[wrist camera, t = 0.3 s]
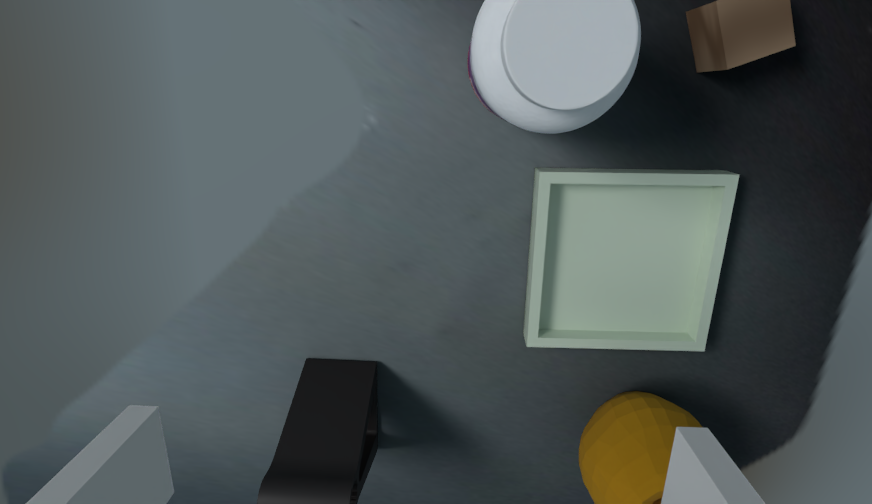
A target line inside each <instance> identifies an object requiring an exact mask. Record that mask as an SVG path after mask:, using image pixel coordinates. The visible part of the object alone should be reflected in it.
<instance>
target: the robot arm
mask: <svg viewBox="0 0 872 504" xmlns="http://www.w3.org/2000/svg"><path fill="white" fill-rule="evenodd" d="M173 493H174V488H173V483H172V477H171V472H170V466H169V461H168V455H167V450H166V445H165V439H164V434H163V428H162V423H161V417H160V412H159V406H137V405H129V406H128V407H127V408H126V409H125V410H124V411H123V412H122V413H121V414H120V415H118V416H117V417H116V418H115V419H114V420H113V421H112V422H111V423H110V424H109V425H108V426H107V427H106V428H105V429H104V430H103V431H102V432H101V433H100V434H99V435H97V436H96V437H95V438H94V439H93V440H92V441H91V442H90V443H89V444H88V445H87V446H86V447H85V448H84V449H83V450H82V451H81V452H80V453H79V454H78V455H76V456H75V457H74V458H73V459H72V460H71V461H70V462H69V463H68V464H67V465H66V466H65V467H64V468H63V469H62V470H61V471H60V472H59V473H58V474H57V475H56V476H54V477H53V478H52V479H51V480H50V481H49V482H48V483H47V484H46V485H45V486H44V487H43V488H42V489H41V490H40V491H39V492H38V493H37V494H36V495H35V496H33V497H32V498H31V499H30V500H29V501H28V502H27V503H26V504H166V503H167V502H168V500H169V499H170V498H171V496H172V495H173ZM661 504H765V502H764V501H763V500H762V499H761V497H760V496H759V495H758V493H757V492H756V491H755V489H754V488H753V487H752V485H751V484H750V483H749V481H748V480H747V479H746V477H745V476H744V475H743V473H742V472H741V471H740V469H739V468H738V467H737V466H736V464H735V463H734V462H733V460H732V459H731V458H730V456H729V455H728V454H727V452H726V451H725V450H724V448H723V447H722V446H721V444H720V443H719V442H718V441H717V439H716V438H715V437H714V435H713V434H712V433H711V431H710V430H709V429H708V428H699V427H676V432H675V437H674V442H673V447H672V452H671V457H670V462H669V467H668V472H667V476H666V481H665V486H664V491H663V496H662V501H661Z"/></svg>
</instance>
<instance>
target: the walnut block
mask: <svg viewBox="0 0 872 504" xmlns="http://www.w3.org/2000/svg"><path fill="white" fill-rule="evenodd" d="M686 16H687V21H688V27H689V32H690V37H691V43H692V48H693V54H694V59H695V64H696V70H697V73H698V72H708V71H719V70H728V69H731V68H734V67H737V66H739V65H742V64H745V63H748V62H751V61H754V60H757V59H759V58H762V57H765V56H768V55H771V54H774V53H777V52H779V51H782V50H785V49H788V48H791V47H794V46H796V44H795V36H794V28H793V20H792V13H791V5H790V0H717V1H715V2H712V3H709V4H707V5H704V6H701V7H698V8H696V9H693V10H690V11H688V12H686Z"/></svg>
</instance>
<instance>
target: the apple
mask: <svg viewBox="0 0 872 504" xmlns="http://www.w3.org/2000/svg"><path fill="white" fill-rule="evenodd" d="M676 427H699V428H703V427H702V426H701V425H700V423H699V422H698V421H697V420H696V419H695V418H694V417H693V416H692V415H691V414H690V413H689V412H687V411H686V410H684V409H682V408H681V407H679V406H677V405H675V404H673V403H671V402H669V401H667V400H665V399H663V398H661V397H659V396H656V395H654V394H651V393H646V392H640V391H631V392H624V393H620V394H618V395H616V396H614V397H613V398H611V399H609V400H608V401H606V402H605V403H604V404H603V405H601V406H600V407H599V408H598V409H597V410H596V412H595V413H594V415H593V416H592V418H591V419H590V421H589V422H588V424H587V425H586V427H585V428H584V431H583V433H582V435H581V440H580V446H579V466H580V470H581V474H582V478H583V482H584V484H585V486H586V487H587V489H588V491H589V493H590V495H591V497H592V499H593V501H594V503H595V504H661V501H662V496H663V491H664V486H665V481H666V476H667V472H668V467H669V462H670V457H671V452H672V447H673V442H674V437H675V432H676Z"/></svg>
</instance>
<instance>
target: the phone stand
mask: <svg viewBox="0 0 872 504" xmlns="http://www.w3.org/2000/svg"><path fill="white" fill-rule="evenodd" d="M377 448H378V417H377V362H373V361H352V360H331V359H310V358H307V359H306V361H305V364H304V367H303V370H302V373H301V376H300V379H299V382H298V385H297V389H296V392H295V395H294V398H293V401H292V404H291V407H290V410H289V413H288V416H287V419H286V422H285V425H284V428H283V431H282V434H281V437H280V440H279V443H278V446H277V449H276V452H275V456H274V458H273V461H272V464H271V466H270V468H269V470H268V472H267V473H266V475H265V476H264V478H263V481H262V483H261V486H260V490H259V494H258V499H257V504H357V502H358V498H359V496H360V493H361V490H362V488H363V485H364V483H365V480H366V478H367V475H368V473H369V470H370V468H371V465H372V462H373V460H374V457H375V455H376V452H377Z"/></svg>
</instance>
